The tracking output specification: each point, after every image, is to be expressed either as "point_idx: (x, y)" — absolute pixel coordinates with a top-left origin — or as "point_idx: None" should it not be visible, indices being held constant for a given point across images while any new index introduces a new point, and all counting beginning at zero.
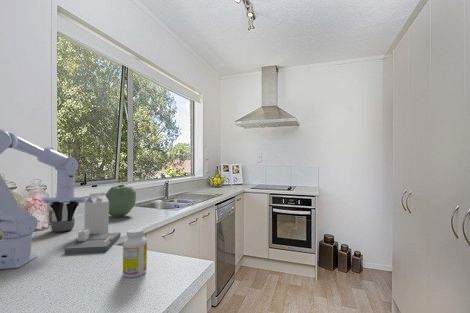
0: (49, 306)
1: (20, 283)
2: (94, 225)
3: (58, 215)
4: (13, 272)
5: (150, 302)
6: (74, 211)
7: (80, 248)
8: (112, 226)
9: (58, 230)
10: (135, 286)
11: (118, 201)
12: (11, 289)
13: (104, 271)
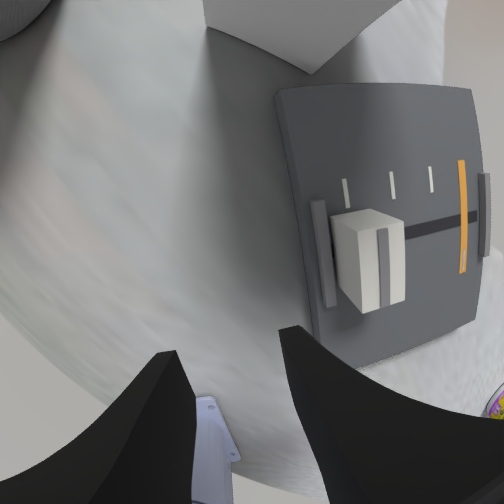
0: None
1: (316, 484)
2: (347, 43)
3: (190, 462)
4: (250, 468)
5: None
6: (371, 385)
7: (387, 354)
8: None
9: (14, 33)
10: None
11: None
12: (316, 493)
13: (461, 410)
